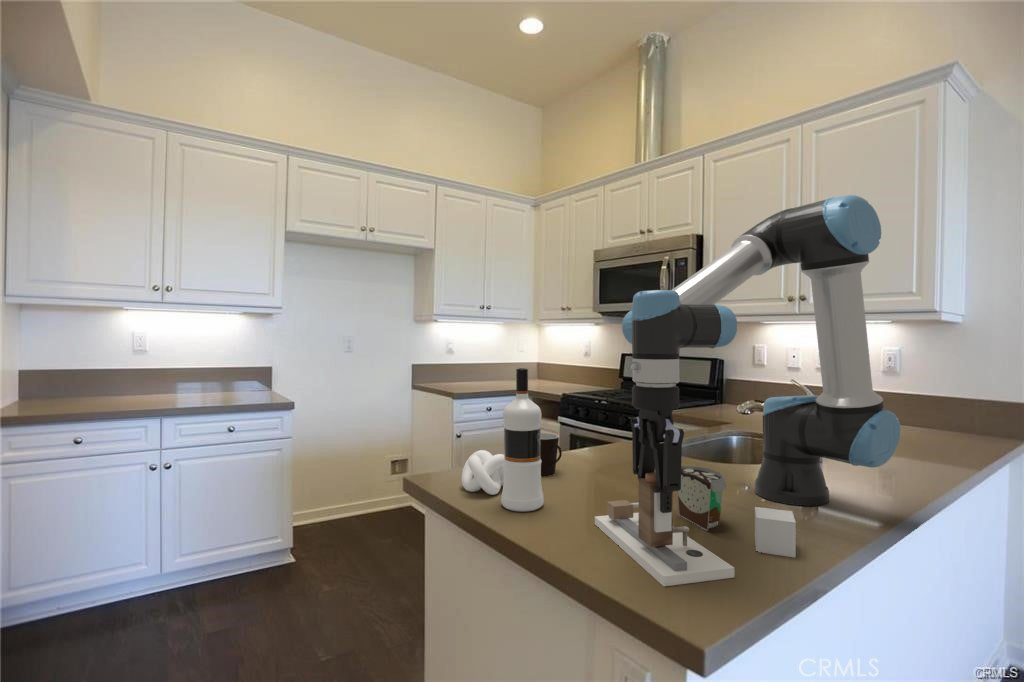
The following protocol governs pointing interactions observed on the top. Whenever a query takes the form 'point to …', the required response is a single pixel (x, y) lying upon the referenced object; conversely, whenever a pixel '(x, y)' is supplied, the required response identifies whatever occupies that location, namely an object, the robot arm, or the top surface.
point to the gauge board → (661, 550)
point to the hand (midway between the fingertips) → (655, 525)
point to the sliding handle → (647, 516)
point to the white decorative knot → (483, 472)
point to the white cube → (775, 532)
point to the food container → (701, 496)
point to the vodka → (522, 451)
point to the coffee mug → (549, 453)
